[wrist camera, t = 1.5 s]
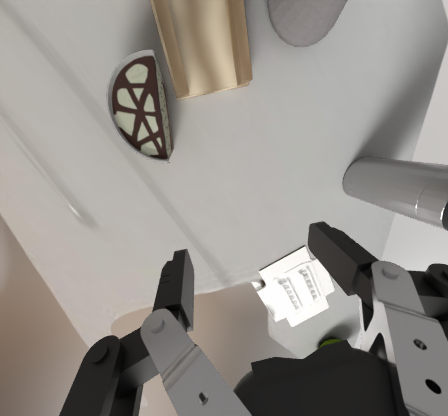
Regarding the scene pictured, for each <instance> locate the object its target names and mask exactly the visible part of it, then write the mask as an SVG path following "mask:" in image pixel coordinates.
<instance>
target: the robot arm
mask: <svg viewBox="0 0 448 416" xmlns="http://www.w3.org/2000/svg"><path fill="white" fill-rule="evenodd" d="M343 188H344V191H345V192H346V194H348V195H349V196H351V197H354V198H357V199H360V200H363V201H365V202H368V203H371V204H374V205H376V206H379V207H382V208H385V209H388V210H391V211H393V212H396V213H399V214H402V215H405V216H408V217H410V218H413V219H416V220H419V221H422V222H425V223H428V224H431V225H433V226H436V227H439V228H442V229H445V230H447V231H448V165H442V164H432V163H422V162H412V161H403V160H393V159H384V158H374V157H364V158H361V159H359V160H357V161H355V162H354V163H353V164H352V165H351V166H350V167H349V169H348V170H347V172H346V174H345V176H344V180H343ZM308 247H309V249H310V251H311V252H312V253H313V255H314V256H315V257H316V258H317V259H318V261H319V262H320V263H321V264H322V265H323V267H324V268H325V269H326V270H327V271H328V273H329V274H330V275H331V276H332V277H333V279H334V280H335V281H336V282H337V283H338V285H339V286H340V287H341V288H342V289H343V291H344V292H345V293H346V294H347V295H348V296H350V295H354V294H357V295H358V296H359V297H360V298H359V312H360V323H361V336H362V337H361V344H360V349H356V348H352V347H351V346H350V344H349V343H348V341H347V340H344V341H339V342H335V343H331V344H327V345H323V346H322V347H320V348H319V349H317V350H316V351H315V352H313V353H312V354H310V355H309V356H307V357H306V358H304V359H292V358H281V357H273V358H269V359H265V360H261V361H256V362H252V363H251V366H252V371H250V372H249V373H247V374H246V375H245V376H244V377H243V378H242V379H241V380H240V382H239V383H238V384H237V386H236V387H235V389H234V390H232V389H231V388H230V386H229V385H228V384H227V382H226V381H225V380H224V379H223V377H222V376H221V375H220V373H219V372H218V371H217V370H216V368H215V367H214V365H213V364H212V363H211V362H210V360H209V359H208V358H207V356H206V355H205V354H204V353H203V351H202V350H201V349H200V348H199V346H198V345H196V344H194V342H193V341H192V340H191V339H190V337H189V336H188V334H187V332H188V331H193V310H194V269H193V265H192V262H191V259H190V256H189V253H188V250H187V249H184V250H179V251H175V252H174V256H173V260H172V261H167V263H166V264H165V266H164V267H163V269H162V272H161V278H160V281H159V285H158V290H157V294H156V298H155V303H154V307H153V311H152V313H151V314H150V315H149V316H148V317H147V318H146V319H145V321H144V322H143V324H142V326H141V327H140V328H139V329H137V330H135V331H133V332H132V333H130V334H128V335H126V336H124V337H123V338H121V339H118V337H116V336H114V335H110V336H106V337H104V338H102V339H100V340H99V341H98V342H96V343H95V344H94V345H93V346H92V347H91V348H90V349H89V351H88V352H87V353H86V355H85V357H84V359H83V361H82V363H81V366H80V368H79V370H78V373H77V375H76V377H75V380H74V382H73V384H72V387H71V389H70V392H69V394H68V396H67V398H66V401H65V403H64V405H63V408H62V411H61V412H60V415H59V416H138V415H139V409H140V402H141V396H142V390H143V384H144V383H145V382H147V381H148V380H150V379H151V378H153V377H154V376H156V375H158V374H159V373H160V375H161V378H162V380H163V385H164V388H165V390H166V392H167V394H168V396H169V398H170V400H171V402H172V404H173V406H174V408H175V410H176V412H177V414H178V416H448V265H446V264H431V265H430V266H429V267H428V269H427V270H426V272H423V271H407V270H405V269H403V268H402V267H400V266H398V265H396V264H394V263H391V262H386V261H379V260H378V259H377V258H375V257H374V256H373V255H372V254H370V253H369V252H368V251H367V250H365V249H364V248H363V247H361V246H360V245H359V244H358V243H356V242H355V241H354V240H353V239H351V238H350V237H349V236H348V235H346V234H345V233H344V232H343V231H340V230H338V229H336V228H334V227H333V228H331V227H330V226H329V225H328V224H327V223H325V222H323V221H322V222H317V223H312V224H310V227H309V235H308Z"/></svg>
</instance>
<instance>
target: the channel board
mask: <svg viewBox="0 0 448 416" xmlns="http://www.w3.org/2000/svg"><path fill="white" fill-rule="evenodd" d="M150 2H151V6H152V10H153V13H154V17H155V21H156V24H157V28H158V32H159V36H160V39H161V43H162V47H163V50H164V54H165V58H166V61H167V65H168V69H169V73H170V76H171V80H172V84H173V87H174V91H175V95H176V98H177V100H180V99H185V98H190V97H195V96H200V95H205V94H210V93H215V92H219V91H224V90H229V89H234V88H239V87H244V86H247V85H249V82H250V81H251V80H252V79H253V78H252V70H251V61H250V52H249V44H248V35H247V26H246V18H245V9H244V0H150Z"/></svg>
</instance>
